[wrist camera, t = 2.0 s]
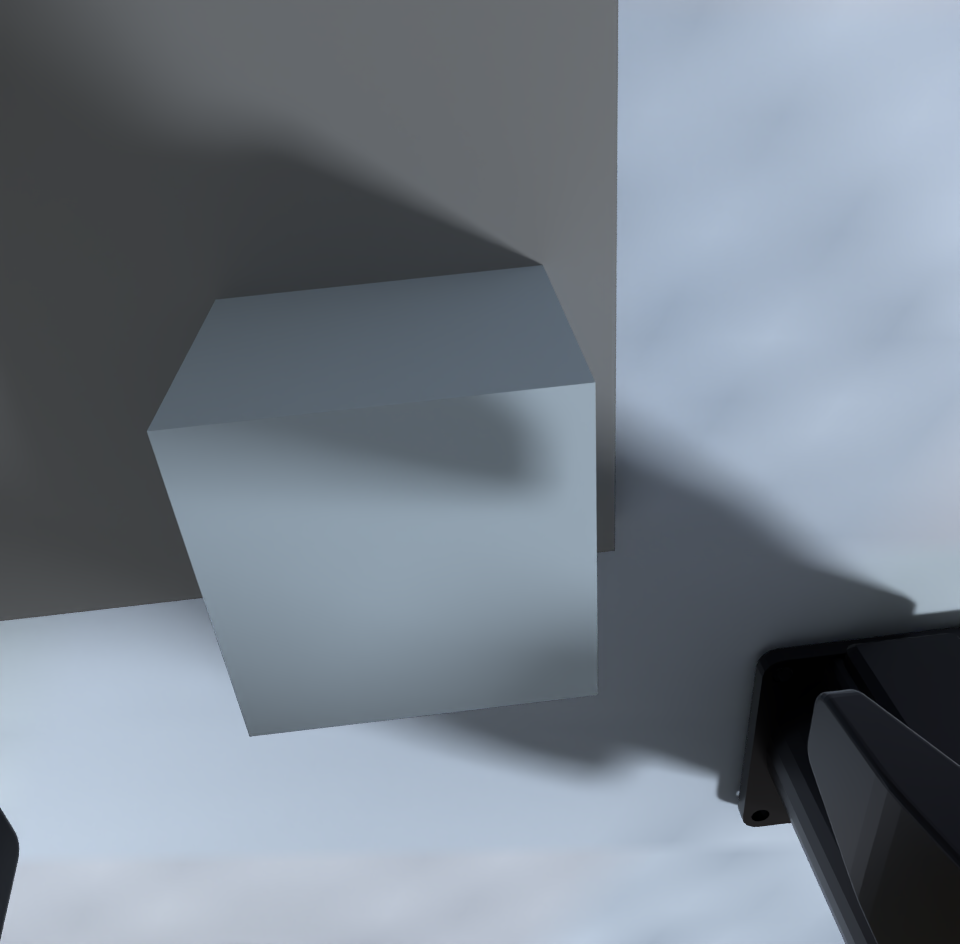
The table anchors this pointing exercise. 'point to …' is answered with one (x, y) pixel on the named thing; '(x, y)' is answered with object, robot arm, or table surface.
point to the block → (390, 497)
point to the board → (262, 223)
